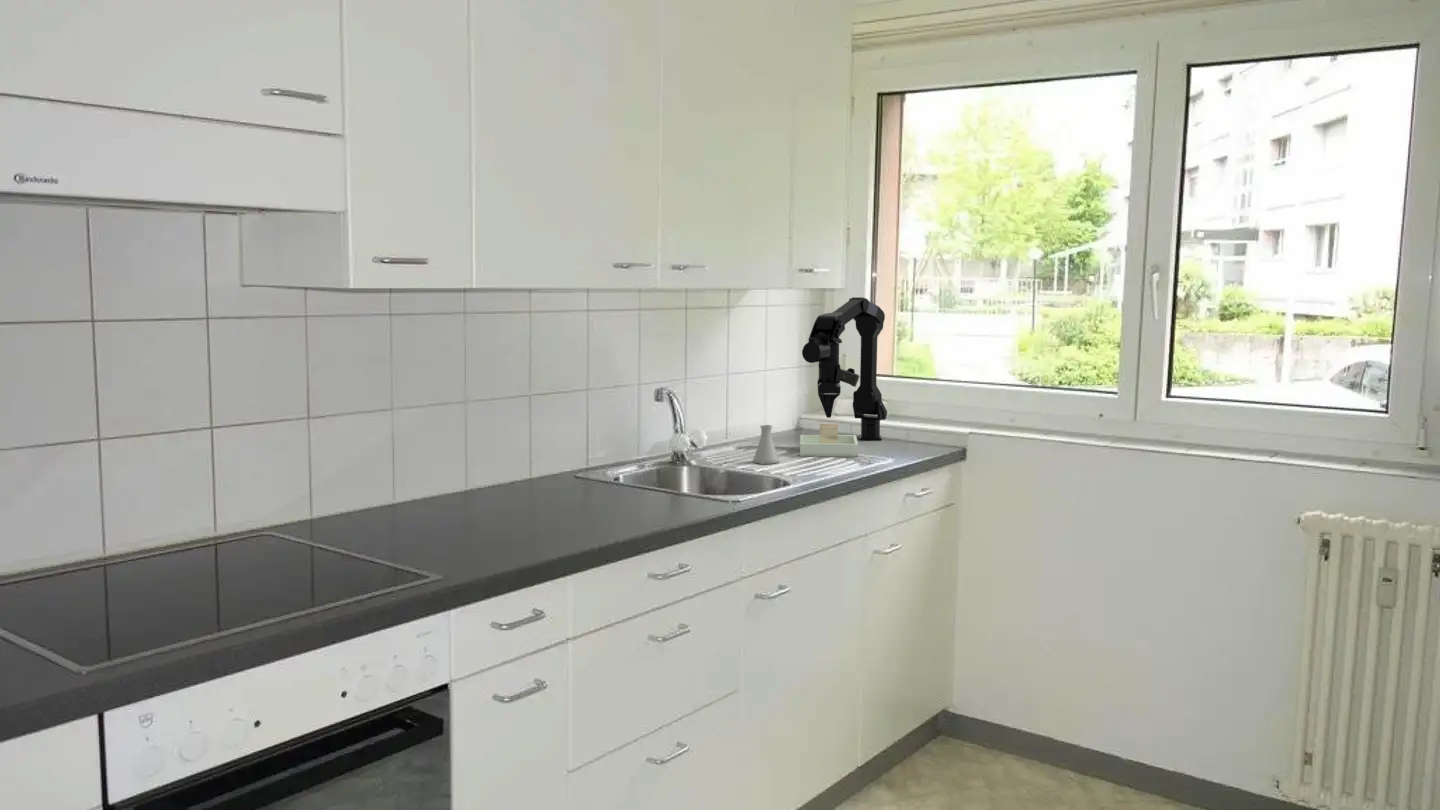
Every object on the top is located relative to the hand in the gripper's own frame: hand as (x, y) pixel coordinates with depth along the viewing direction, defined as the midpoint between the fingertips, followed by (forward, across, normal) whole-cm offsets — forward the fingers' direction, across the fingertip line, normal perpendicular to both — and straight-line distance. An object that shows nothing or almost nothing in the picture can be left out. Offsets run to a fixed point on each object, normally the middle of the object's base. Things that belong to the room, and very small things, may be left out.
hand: (828, 415), depth 317 cm
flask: (+11, -17, +17) cm, 26 cm away
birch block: (+10, 0, 0) cm, 10 cm away
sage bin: (+10, 0, 0) cm, 10 cm away
